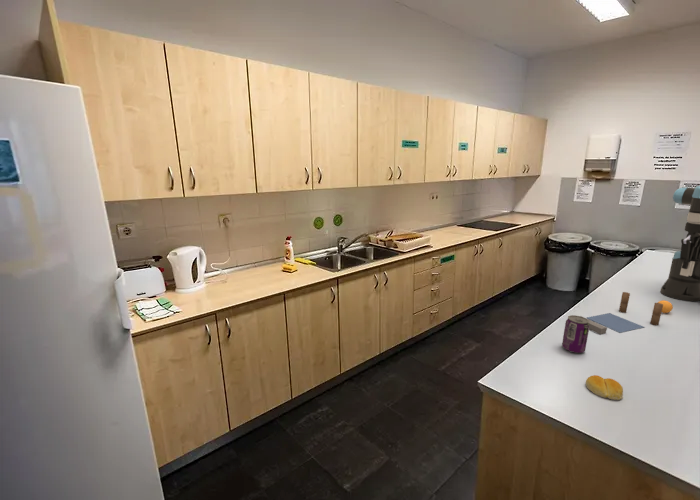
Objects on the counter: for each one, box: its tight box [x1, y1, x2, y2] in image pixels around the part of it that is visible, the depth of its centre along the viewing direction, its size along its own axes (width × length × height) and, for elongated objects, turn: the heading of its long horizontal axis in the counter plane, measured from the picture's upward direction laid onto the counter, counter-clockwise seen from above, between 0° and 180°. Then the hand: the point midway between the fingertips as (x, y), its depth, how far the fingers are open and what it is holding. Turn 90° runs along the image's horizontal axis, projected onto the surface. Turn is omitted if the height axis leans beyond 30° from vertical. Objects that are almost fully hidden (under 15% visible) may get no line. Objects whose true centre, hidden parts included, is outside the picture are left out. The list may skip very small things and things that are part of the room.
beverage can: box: [561, 314, 590, 354], centre depth 121 cm, size 7×7×12 cm
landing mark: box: [586, 312, 645, 334], centre depth 141 cm, size 14×14×1 cm
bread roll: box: [585, 374, 624, 401], centre depth 100 cm, size 8×9×4 cm
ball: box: [657, 299, 674, 314], centre depth 149 cm, size 6×6×6 cm
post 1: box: [618, 291, 631, 314], centre depth 150 cm, size 3×3×9 cm
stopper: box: [580, 315, 608, 335], centre depth 137 cm, size 3×11×2 cm, turn 18°
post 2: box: [649, 302, 663, 326], centre depth 139 cm, size 3×3×9 cm
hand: (685, 275), depth 149 cm, fingers closed
